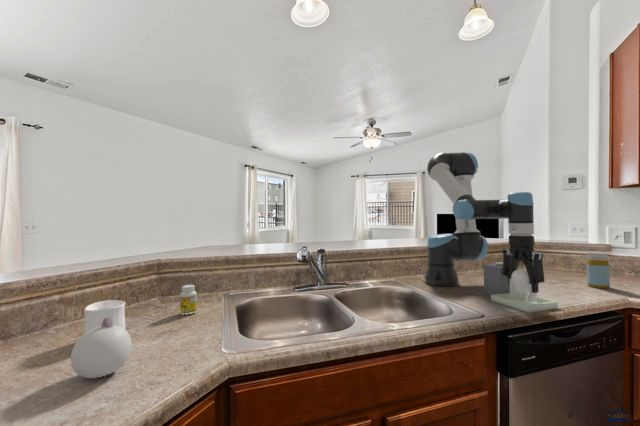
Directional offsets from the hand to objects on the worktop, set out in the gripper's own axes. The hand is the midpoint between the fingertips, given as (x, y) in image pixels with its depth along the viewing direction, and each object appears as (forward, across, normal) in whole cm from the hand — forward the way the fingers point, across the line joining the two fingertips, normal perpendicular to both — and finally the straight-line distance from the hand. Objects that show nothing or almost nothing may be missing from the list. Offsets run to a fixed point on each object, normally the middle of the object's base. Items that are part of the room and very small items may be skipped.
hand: (522, 298), depth 102 cm
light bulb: (0, 0, 0) cm, 0 cm away
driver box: (+2, -12, +3) cm, 13 cm away
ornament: (+2, +7, -127) cm, 127 cm away
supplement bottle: (+2, -30, -116) cm, 120 cm away
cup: (+2, -14, -135) cm, 136 cm away
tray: (+2, 0, 0) cm, 2 cm away
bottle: (+2, -8, +53) cm, 54 cm away
